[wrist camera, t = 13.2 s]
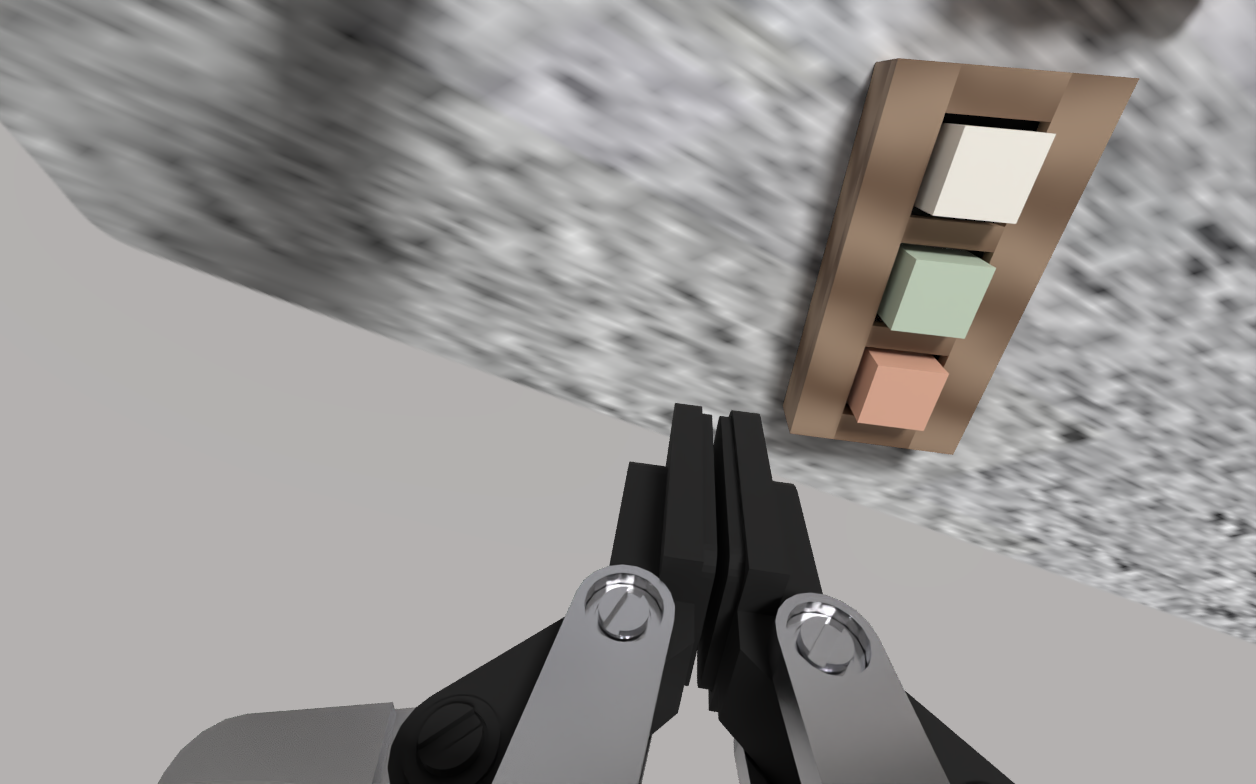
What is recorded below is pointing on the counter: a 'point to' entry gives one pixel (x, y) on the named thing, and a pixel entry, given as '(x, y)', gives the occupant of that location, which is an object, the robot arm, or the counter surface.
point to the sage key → (934, 290)
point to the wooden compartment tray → (939, 235)
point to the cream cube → (982, 172)
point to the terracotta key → (896, 388)
